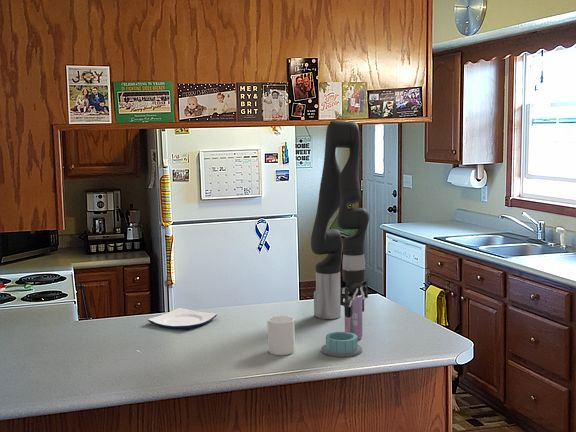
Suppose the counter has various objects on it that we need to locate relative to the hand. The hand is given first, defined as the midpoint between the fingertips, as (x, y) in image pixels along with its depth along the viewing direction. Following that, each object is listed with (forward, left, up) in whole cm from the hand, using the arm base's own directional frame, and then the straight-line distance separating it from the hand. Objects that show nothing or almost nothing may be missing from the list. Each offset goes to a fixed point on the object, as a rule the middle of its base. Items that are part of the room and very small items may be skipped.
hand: (354, 314), depth 242 cm
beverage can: (0, 0, -8) cm, 8 cm away
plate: (-63, -18, -9) cm, 67 cm away
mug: (-13, -24, -9) cm, 29 cm away
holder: (+4, -14, -8) cm, 17 cm away
